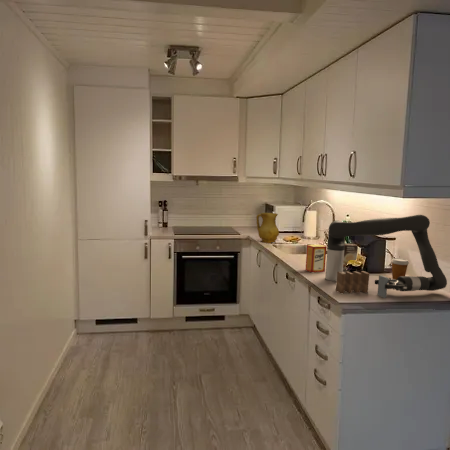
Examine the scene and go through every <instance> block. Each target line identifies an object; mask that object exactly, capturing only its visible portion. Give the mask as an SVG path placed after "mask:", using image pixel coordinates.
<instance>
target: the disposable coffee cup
mask: <svg viewBox="0 0 450 450" xmlns="http://www.w3.org/2000/svg"><path fill="white" fill-rule="evenodd" d="M390 262H391V276H392V277H391V279H396V280H397V278H398V277H400V276H407V271H408V267H409V266H408V265H409V264H410V262H409V260H408V259H406V258H401V257H394V258H392V259H391V260H390Z"/></svg>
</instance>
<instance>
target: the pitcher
mask: <svg viewBox="0 0 450 450" xmlns="http://www.w3.org/2000/svg"><path fill="white" fill-rule="evenodd" d="M278 215H279V214H278V213H275V212H260V213H258V214H257V215H256V228H257V233H258V237H259V238H260V239H261V240H260V242H262V243H264V244H265V243H266V244H272V243H271V242H275V243H276V240H277V239H278V236H280V230H279V228H278V226H277V224H276V223H277V222H276V221H277V220H276V219H277V217H278ZM260 217H261V219H262V221H261V224H260Z"/></svg>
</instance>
